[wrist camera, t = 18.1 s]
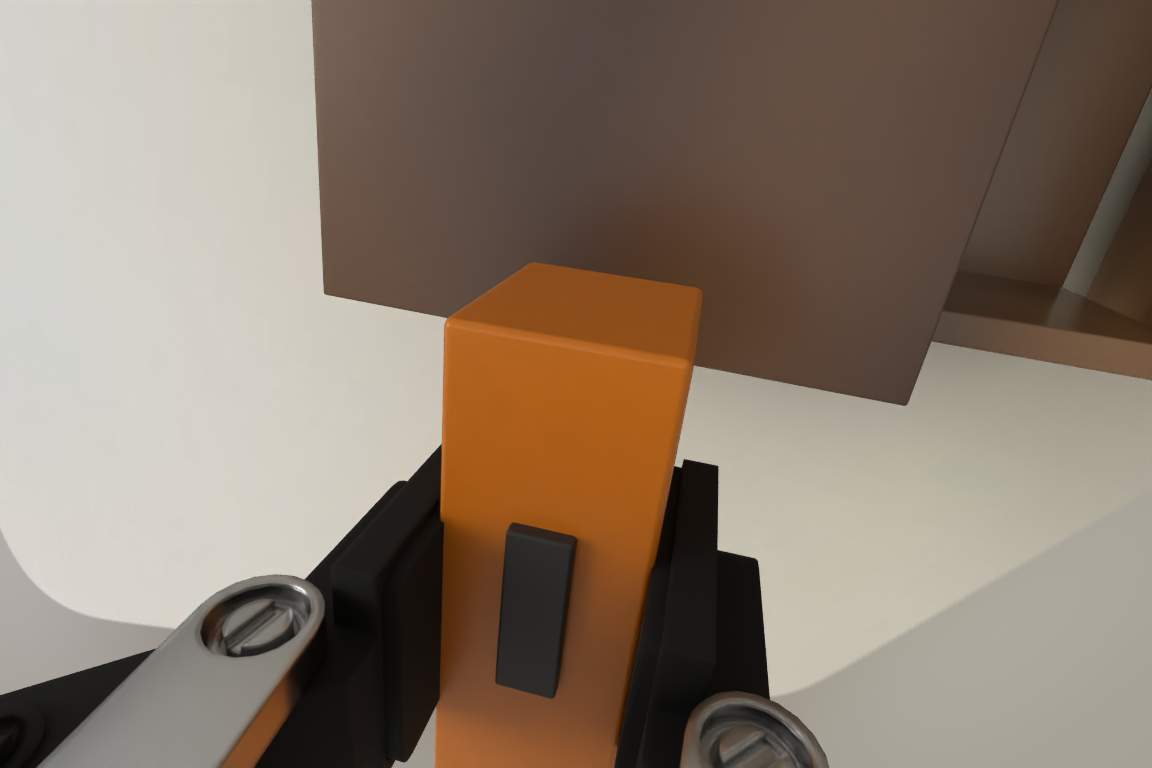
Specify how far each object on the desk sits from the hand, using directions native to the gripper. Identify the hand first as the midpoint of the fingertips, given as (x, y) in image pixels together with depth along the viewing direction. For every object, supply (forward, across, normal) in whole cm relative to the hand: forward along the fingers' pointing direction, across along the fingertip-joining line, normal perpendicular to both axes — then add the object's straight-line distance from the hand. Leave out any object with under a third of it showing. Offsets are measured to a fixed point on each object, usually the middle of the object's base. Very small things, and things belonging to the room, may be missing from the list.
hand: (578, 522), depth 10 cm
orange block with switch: (+1, 0, 0) cm, 1 cm away
